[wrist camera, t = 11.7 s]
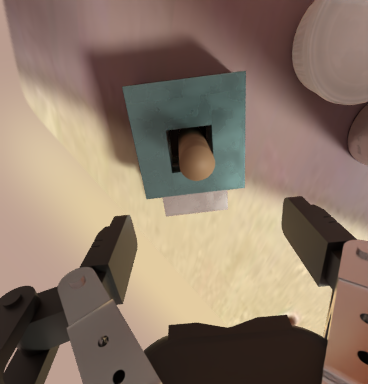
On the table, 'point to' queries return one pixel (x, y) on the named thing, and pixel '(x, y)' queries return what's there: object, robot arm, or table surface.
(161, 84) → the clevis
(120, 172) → the table surface
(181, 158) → the pin
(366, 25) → the ramekin
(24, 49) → the table surface
